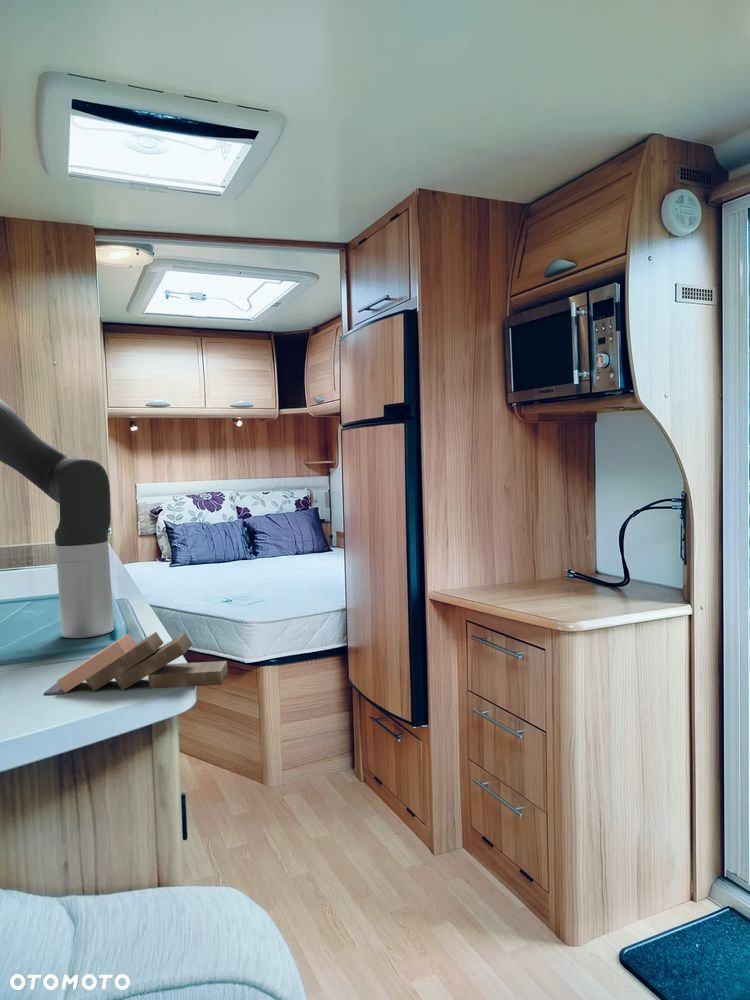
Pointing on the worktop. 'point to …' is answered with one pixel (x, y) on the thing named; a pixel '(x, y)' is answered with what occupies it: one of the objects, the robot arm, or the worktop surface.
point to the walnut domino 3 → (188, 675)
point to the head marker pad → (54, 690)
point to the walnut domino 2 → (155, 661)
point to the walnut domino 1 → (125, 661)
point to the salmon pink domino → (96, 663)
